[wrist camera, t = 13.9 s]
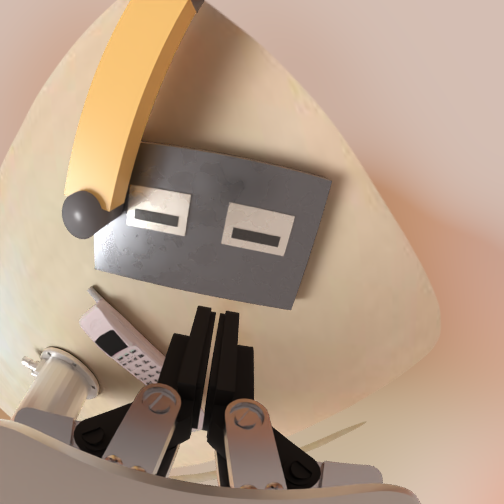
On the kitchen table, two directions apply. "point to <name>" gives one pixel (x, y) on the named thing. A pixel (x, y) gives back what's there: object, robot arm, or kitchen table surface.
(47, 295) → the kitchen table surface
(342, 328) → the kitchen table surface
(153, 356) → the mobile phone
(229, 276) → the plate
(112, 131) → the bar
